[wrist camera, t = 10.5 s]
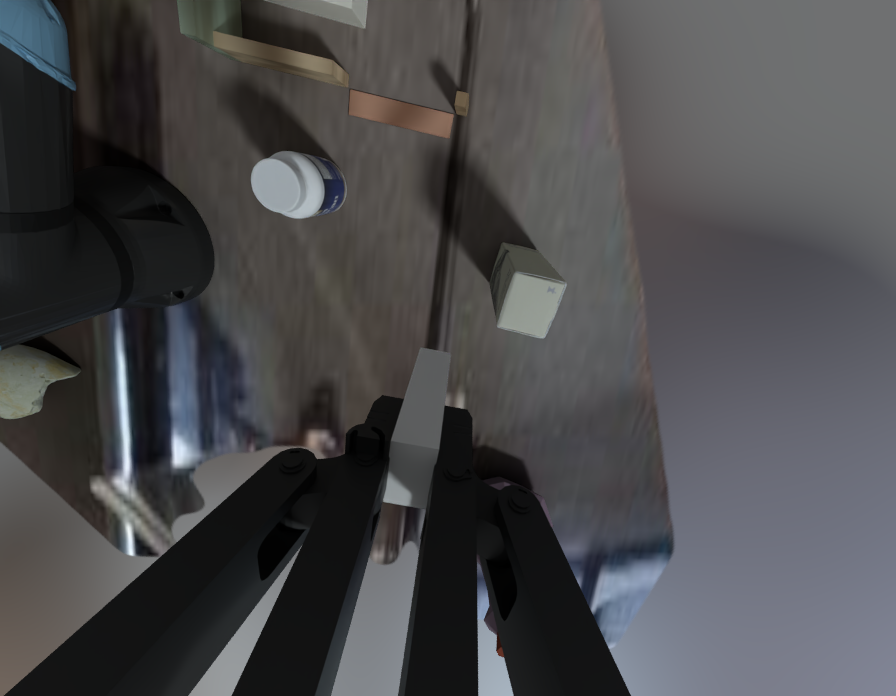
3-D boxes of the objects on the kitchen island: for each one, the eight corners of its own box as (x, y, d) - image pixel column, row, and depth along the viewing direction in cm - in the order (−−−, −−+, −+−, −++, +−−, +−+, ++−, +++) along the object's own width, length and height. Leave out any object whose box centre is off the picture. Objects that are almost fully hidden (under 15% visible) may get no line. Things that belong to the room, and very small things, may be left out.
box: (501, 240, 37) (514, 265, 25) (539, 250, 37) (570, 279, 25) (487, 286, 39) (494, 328, 28) (524, 295, 39) (546, 341, 28)
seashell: (-17, 439, 45) (-104, 384, 40) (40, 400, 52) (-28, 349, 47) (60, 411, 44) (-20, 350, 39) (108, 375, 51) (46, 320, 45)
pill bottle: (327, 224, 37) (283, 236, 28) (288, 185, 36) (228, 184, 27) (358, 187, 35) (321, 188, 27) (318, 144, 34) (264, 129, 25)
